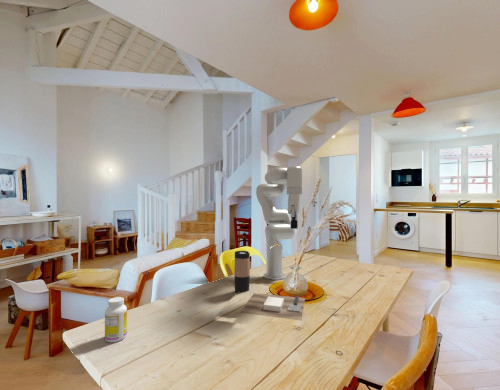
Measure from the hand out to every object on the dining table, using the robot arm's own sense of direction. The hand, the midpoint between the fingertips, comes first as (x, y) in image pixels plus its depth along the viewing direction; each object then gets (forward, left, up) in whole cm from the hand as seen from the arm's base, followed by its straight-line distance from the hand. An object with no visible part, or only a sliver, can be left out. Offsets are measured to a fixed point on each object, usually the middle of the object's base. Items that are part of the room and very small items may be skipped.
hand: (294, 228), depth 130 cm
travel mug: (+6, -25, -32) cm, 41 cm away
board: (+20, -6, -32) cm, 38 cm away
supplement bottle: (+58, -53, -32) cm, 85 cm away
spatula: (+17, +3, -31) cm, 35 cm away
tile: (+17, -6, -30) cm, 35 cm away
